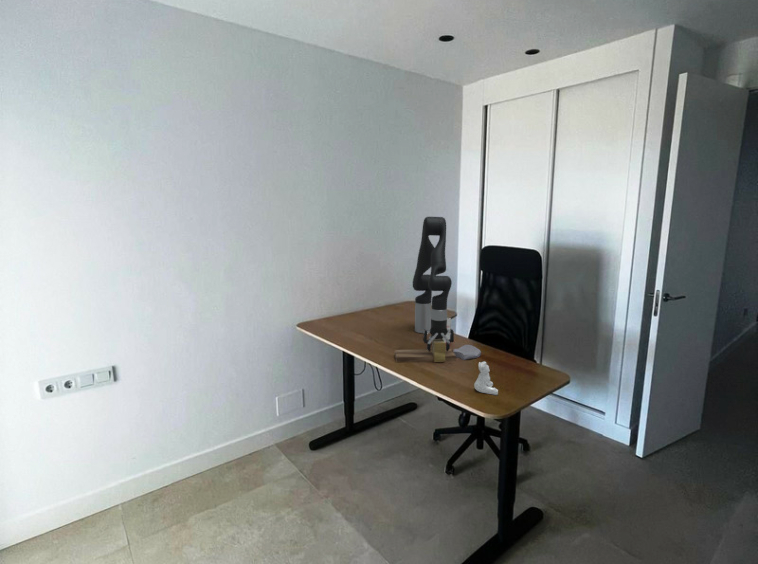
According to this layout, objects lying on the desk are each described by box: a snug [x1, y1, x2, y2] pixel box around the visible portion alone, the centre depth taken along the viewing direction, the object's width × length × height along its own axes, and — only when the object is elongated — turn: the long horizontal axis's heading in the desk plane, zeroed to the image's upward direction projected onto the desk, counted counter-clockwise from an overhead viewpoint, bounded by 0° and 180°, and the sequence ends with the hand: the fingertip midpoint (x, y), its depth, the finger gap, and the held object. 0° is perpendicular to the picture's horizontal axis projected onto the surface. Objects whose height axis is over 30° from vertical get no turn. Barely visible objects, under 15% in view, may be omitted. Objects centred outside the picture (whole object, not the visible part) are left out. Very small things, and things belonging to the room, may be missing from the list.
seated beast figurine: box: [473, 360, 499, 396], centre depth 167 cm, size 10×9×12 cm
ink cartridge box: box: [443, 317, 452, 345], centre depth 221 cm, size 9×5×15 cm, turn 115°
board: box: [394, 348, 457, 363], centre depth 203 cm, size 10×28×2 cm, turn 94°
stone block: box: [452, 344, 482, 361], centre depth 206 cm, size 12×5×10 cm
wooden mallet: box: [431, 339, 446, 363], centre depth 204 cm, size 15×5×9 cm, turn 4°
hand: (438, 350), depth 201 cm, fingers open, 8 cm apart
